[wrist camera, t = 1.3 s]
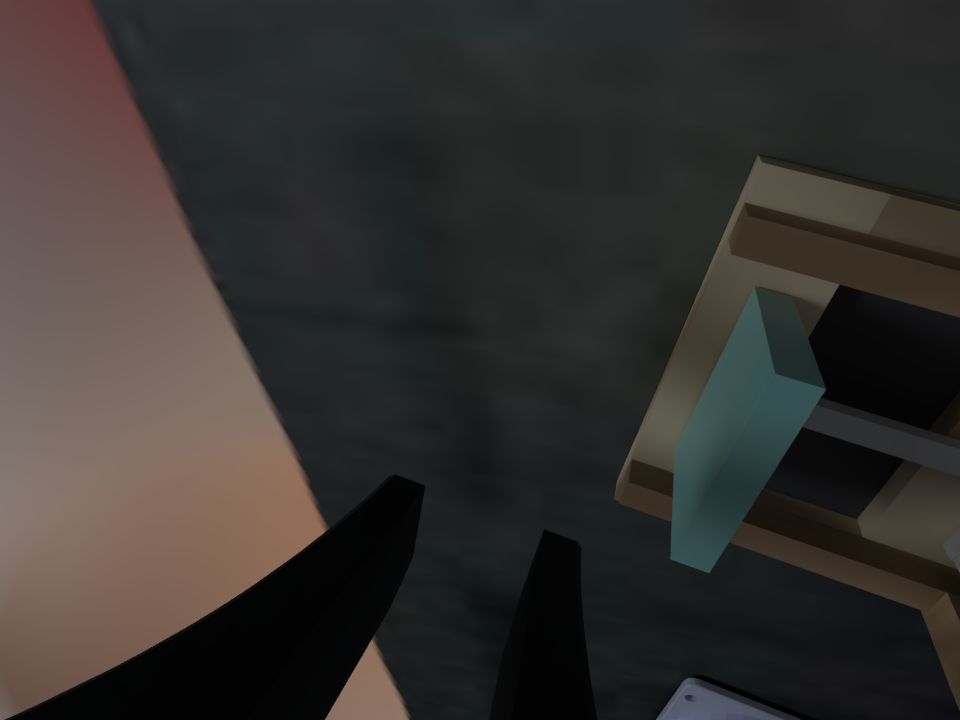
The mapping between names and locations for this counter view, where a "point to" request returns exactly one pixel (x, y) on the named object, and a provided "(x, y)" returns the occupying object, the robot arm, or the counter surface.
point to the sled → (770, 429)
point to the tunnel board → (837, 383)
